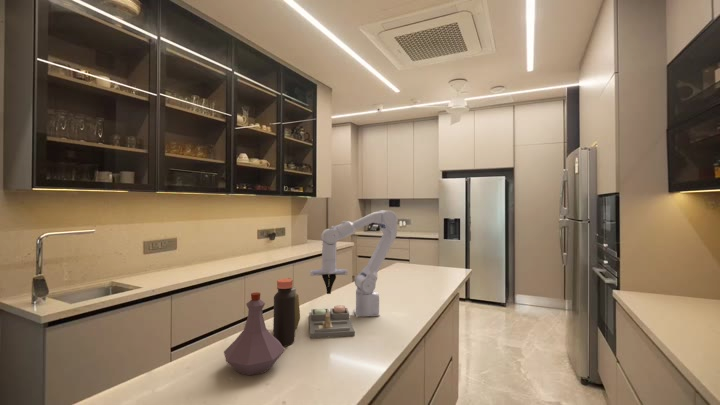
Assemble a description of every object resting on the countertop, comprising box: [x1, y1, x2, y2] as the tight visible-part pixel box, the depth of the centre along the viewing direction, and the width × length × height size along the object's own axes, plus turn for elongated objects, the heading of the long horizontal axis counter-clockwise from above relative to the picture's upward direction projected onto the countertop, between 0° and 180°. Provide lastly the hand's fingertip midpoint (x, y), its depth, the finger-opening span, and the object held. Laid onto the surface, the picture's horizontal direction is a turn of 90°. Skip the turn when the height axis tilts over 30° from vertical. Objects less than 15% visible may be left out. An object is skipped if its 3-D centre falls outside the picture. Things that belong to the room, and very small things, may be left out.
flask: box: [223, 292, 286, 376], centre depth 90 cm, size 16×16×20 cm
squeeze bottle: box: [287, 277, 301, 330], centre depth 118 cm, size 8×8×18 cm
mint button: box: [314, 308, 326, 315], centre depth 125 cm, size 4×4×2 cm
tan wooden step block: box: [323, 312, 332, 328], centre depth 115 cm, size 3×5×4 cm, turn 10°
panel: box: [308, 307, 356, 339], centre depth 121 cm, size 15×22×4 cm
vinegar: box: [272, 278, 296, 347], centre depth 106 cm, size 7×7×20 cm
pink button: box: [333, 305, 346, 314], centre depth 127 cm, size 4×4×2 cm
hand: (328, 293), depth 130 cm, fingers closed
